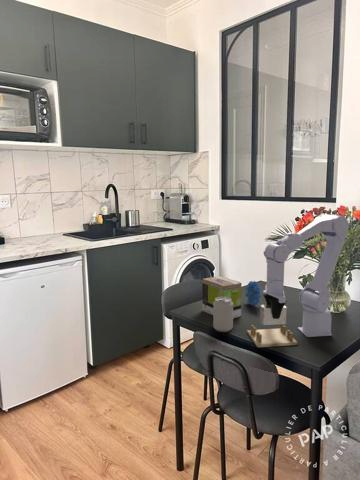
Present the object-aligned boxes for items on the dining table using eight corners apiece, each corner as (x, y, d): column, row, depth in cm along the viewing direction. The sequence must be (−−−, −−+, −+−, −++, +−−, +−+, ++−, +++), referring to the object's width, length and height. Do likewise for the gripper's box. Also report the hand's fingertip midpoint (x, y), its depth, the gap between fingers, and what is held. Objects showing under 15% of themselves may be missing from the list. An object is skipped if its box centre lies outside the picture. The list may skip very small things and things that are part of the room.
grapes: (267, 309, 157) (268, 283, 155) (254, 311, 155) (254, 284, 153) (255, 301, 168) (255, 276, 166) (242, 302, 166) (242, 277, 164)
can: (209, 328, 136) (209, 298, 135) (221, 323, 142) (221, 294, 140) (224, 334, 131) (224, 303, 129) (236, 328, 136) (237, 298, 134)
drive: (282, 320, 127) (282, 304, 126) (285, 323, 123) (286, 307, 122) (260, 321, 126) (260, 305, 125) (263, 325, 123) (263, 308, 122)
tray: (283, 330, 134) (283, 321, 133) (297, 344, 122) (297, 335, 122) (247, 332, 132) (247, 323, 132) (257, 347, 121) (257, 337, 120)
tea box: (242, 316, 149) (242, 282, 146) (223, 321, 144) (223, 286, 141) (219, 306, 161) (219, 274, 159) (201, 310, 156) (201, 278, 154)
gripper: (257, 273, 129) (256, 309, 131) (271, 284, 115) (270, 324, 117) (276, 273, 130) (274, 308, 132) (292, 283, 115) (290, 323, 118)
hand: (274, 316), depth 124 cm, fingers closed on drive, 3 cm apart
